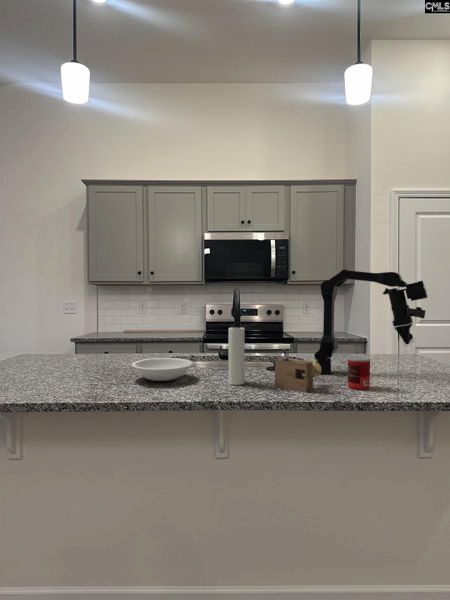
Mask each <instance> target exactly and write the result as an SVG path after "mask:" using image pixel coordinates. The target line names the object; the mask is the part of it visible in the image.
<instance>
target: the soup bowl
mask: <svg viewBox="0 0 450 600" xmlns="http://www.w3.org/2000/svg"><path fill="white" fill-rule="evenodd" d="M192 365H194V363H193V361H192V360H189V359H186V358H177V357H156V358H154V357H153V358H146V359H140V360H137V361H134V362H132V363H131V367H132V368H134V369H136V372H137V373H138V375H140V376H141V377H143V378H144V379H146V380H149V381H156V382H157V381H158V382H163V381H164V382H165V381H167V382H168V381H172V380H175V379H179V378H181V377H182V376H184V374H185V373H187V371H188V369H189V368H190V367H191V366H192Z"/></svg>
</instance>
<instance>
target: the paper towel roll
mask: <svg viewBox="0 0 450 600" xmlns="http://www.w3.org/2000/svg"><path fill="white" fill-rule="evenodd" d="M245 329H246V328H245V327H242V326H241V327H240V326H234V327H229V328H228V384H229V385H233V386H240V385H244V384H245Z"/></svg>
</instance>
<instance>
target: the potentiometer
mask: <svg viewBox="0 0 450 600" xmlns="http://www.w3.org/2000/svg"><path fill="white" fill-rule="evenodd" d="M280 357H281V360H282V361H288V360H289V359H290V357H289V353H288V352H287V348H283V352H281V355H280Z"/></svg>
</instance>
